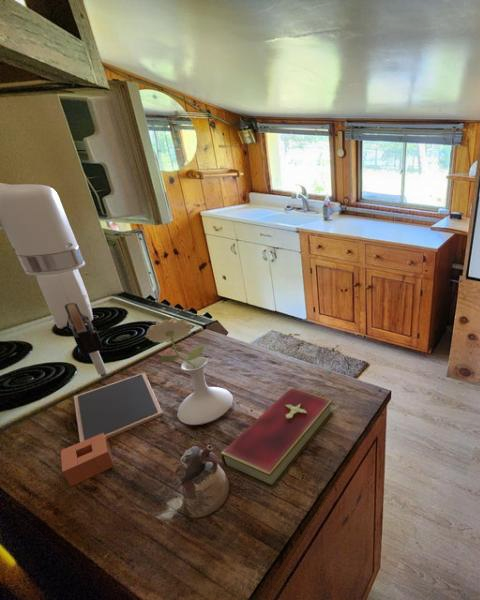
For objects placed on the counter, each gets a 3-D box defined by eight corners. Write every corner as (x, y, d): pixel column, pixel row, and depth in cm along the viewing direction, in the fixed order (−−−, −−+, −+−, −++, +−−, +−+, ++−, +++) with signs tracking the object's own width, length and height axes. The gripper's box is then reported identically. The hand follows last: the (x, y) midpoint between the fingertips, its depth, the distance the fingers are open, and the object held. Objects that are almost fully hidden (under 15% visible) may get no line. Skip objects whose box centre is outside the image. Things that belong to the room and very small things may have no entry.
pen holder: (70, 486, 59) (62, 471, 57) (68, 464, 63) (60, 450, 61) (114, 466, 63) (107, 451, 61) (110, 446, 67) (103, 432, 65)
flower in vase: (237, 391, 83) (218, 304, 73) (229, 424, 73) (206, 328, 63) (180, 399, 80) (151, 308, 69) (163, 435, 70) (126, 336, 59)
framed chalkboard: (82, 449, 66) (80, 446, 65) (74, 398, 78) (73, 395, 78) (163, 415, 75) (162, 412, 75) (145, 374, 88) (144, 371, 87)
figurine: (193, 482, 60) (177, 436, 55) (234, 476, 62) (222, 430, 57) (178, 521, 54) (159, 473, 49) (224, 513, 56) (210, 465, 51)
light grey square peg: (99, 378, 66) (76, 327, 61) (99, 375, 67) (76, 324, 62) (108, 375, 67) (86, 324, 62) (107, 372, 67) (86, 322, 62)
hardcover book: (223, 466, 64) (219, 451, 62) (292, 398, 82) (290, 385, 80) (272, 489, 60) (269, 473, 58) (333, 412, 78) (332, 399, 76)
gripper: (23, 253, 59) (64, 340, 66) (19, 277, 49) (68, 376, 57) (79, 246, 64) (111, 328, 71) (86, 267, 54) (122, 359, 61)
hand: (92, 348), depth 64 cm, fingers closed on light grey square peg, 1 cm apart
